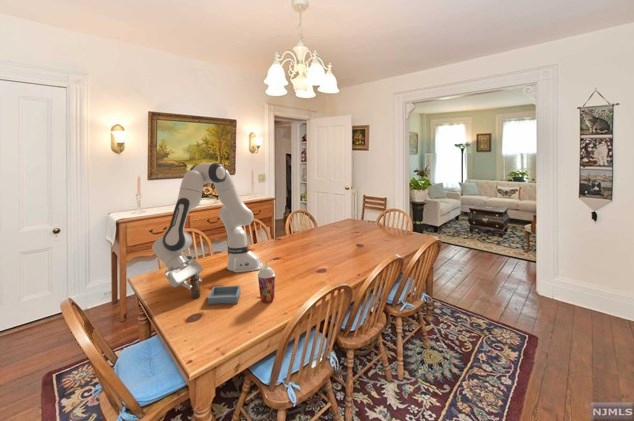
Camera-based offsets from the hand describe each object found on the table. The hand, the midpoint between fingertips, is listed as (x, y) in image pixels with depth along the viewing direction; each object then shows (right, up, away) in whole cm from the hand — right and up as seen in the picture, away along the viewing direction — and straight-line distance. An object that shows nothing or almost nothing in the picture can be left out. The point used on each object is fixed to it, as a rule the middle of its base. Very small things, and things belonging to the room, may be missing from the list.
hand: (195, 285), depth 157 cm
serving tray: (+15, -7, 0) cm, 16 cm away
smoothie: (+36, -7, -2) cm, 37 cm away
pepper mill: (-1, -6, +1) cm, 6 cm away
